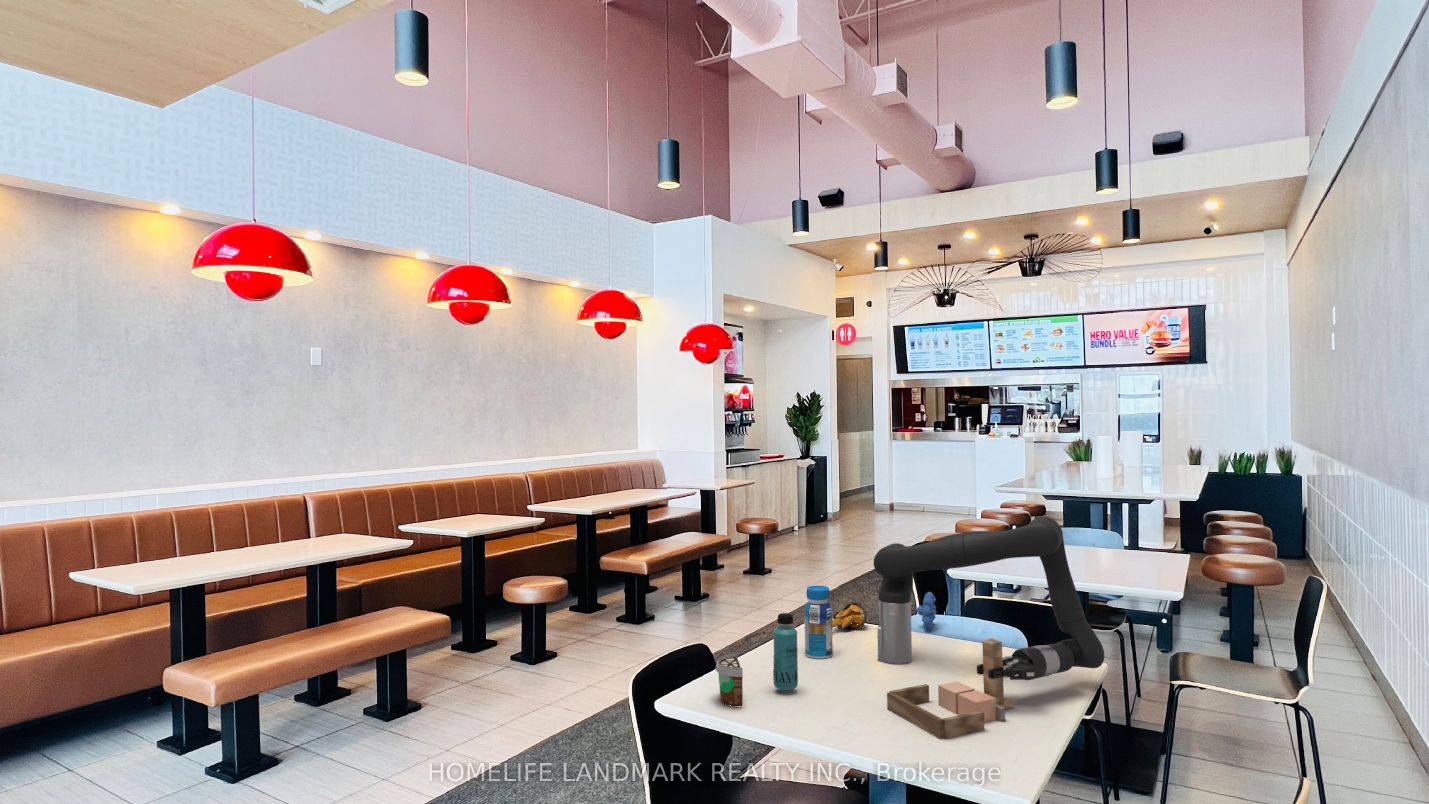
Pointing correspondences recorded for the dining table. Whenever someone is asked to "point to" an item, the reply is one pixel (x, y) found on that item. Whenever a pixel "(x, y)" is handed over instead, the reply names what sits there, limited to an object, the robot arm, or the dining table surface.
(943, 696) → the tile
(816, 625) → the beverage bottle
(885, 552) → the robot arm
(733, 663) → the food container
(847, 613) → the fried shrimp in bowl
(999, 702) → the wooden post on base
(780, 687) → the beverage bottle
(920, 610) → the grapes
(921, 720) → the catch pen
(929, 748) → the dining table surface
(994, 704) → the salmon pink block
